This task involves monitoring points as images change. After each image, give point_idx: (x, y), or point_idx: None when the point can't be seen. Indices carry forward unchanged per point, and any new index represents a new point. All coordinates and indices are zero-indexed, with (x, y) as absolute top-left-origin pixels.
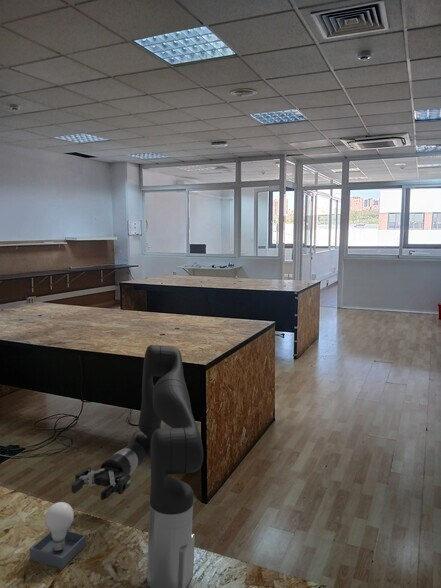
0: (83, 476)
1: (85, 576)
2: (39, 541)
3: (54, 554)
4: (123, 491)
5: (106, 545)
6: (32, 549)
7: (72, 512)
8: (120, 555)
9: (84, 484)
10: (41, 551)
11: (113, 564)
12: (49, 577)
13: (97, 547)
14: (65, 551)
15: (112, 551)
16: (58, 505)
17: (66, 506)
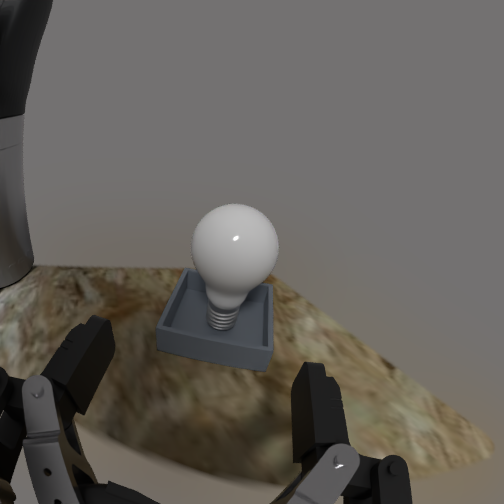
0: (339, 475)
1: (133, 276)
2: (269, 301)
3: None
4: (4, 417)
5: None
6: (265, 283)
7: (196, 231)
8: (66, 318)
9: (298, 482)
10: None
11: (81, 297)
12: None
13: (123, 344)
14: (200, 321)
15: None
16: (241, 204)
17: (217, 210)
